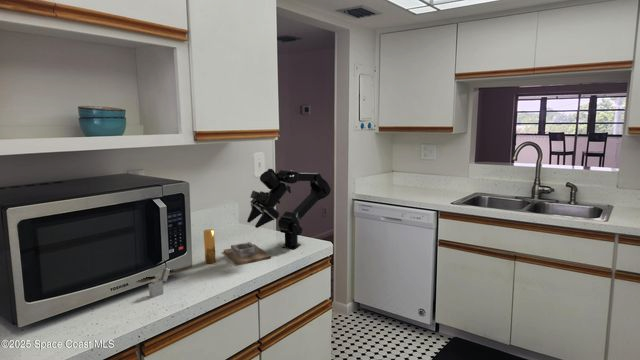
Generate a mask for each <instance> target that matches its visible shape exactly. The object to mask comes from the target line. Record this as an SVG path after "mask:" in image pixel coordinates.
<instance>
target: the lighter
mask: <svg viewBox="0 0 640 360" xmlns="http://www.w3.org/2000/svg"><path fill="white" fill-rule="evenodd" d="M170 272H171V271H170V269H168V268H164V269H163V272H162V275H161V276H160V277H159V278H155V279H153V280H152V281H151V283H149V284H148V292H149V293H148V294H149V298H151V299H153V298H156V297H159V296H160V295H164V283H163V282H167V280H168V277H169V274H170Z"/></svg>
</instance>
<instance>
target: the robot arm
mask: <svg viewBox="0 0 640 360" xmlns="http://www.w3.org/2000/svg"><path fill="white" fill-rule="evenodd" d="M259 180H260V182H261V183H262V185H264V186H265V187H266V188H267V189H269V191H266V192H265V191H262V190H261V191H259V192H258V191H256V190H252V192H251V194H250V197H249V198H251V199H252V200H250V201H249V202H250V207H251V211H250V212H249V215H248V217H247V221H246V222H247V223H249V224H250V223H251V222H253V221H254V220H255V219H257V218H258V217H259V216H260V217H259V218H258V220H257V222H256V224H255V225H254V227H255V228H256V229H258V228H260V227H262V226H264V225H266V224H268V223H270V222H272V221H275V220H278V221H277V223H278V228H279V230H280V233H282V234H284V244H283V245H281V248H283V249H291V250H296V249H297V248H299V247H300V246H302V244H301V243H299V240H298V239H299V236H300V235H301V234H302V233H303V228H302V226H300V223H301V219H303V217H304V216H305V215H307V213H308V212H309V211H310V210H311V209H312V207H314V206H315V205H316V203H317V202H319V201H321V200H324V199H326V198H327V197H328V196H329V195H330V194H331V190H332V189H331V187H330V184H329V183H328V182H327V180H326V179H324V178H323V177H322V175H321V174H320V173H318V172H315V171H314V172H312V171H311V172H298V171H295V170H290V169H283V168H282V169H280V170H278V172H275V170H274V169H272V168H268V169H267V170H265V171H263V173H261V175H260V176H259ZM298 182H309V186H310V191H309V195H307V196H306V197H305V198H304V199H303V200H302V202H301V203H299V204H298V205H297V206H296V208H295V209H294V210H292V211H285V212H284V213H283V214H282V215H280V212H279V211H278V209H277V210H276V208H275V207H276V206H277V205H278V204H281V200H282V198H283V197H284V196H285V194H286V193H288V194H291V193H292V192H291V191H292V190H291V186H289V185H292V184H296V183H298ZM286 184H289V185H286ZM279 217H280V218H279Z"/></svg>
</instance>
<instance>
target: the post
mask: <svg viewBox="0 0 640 360" xmlns="http://www.w3.org/2000/svg"><path fill="white" fill-rule="evenodd" d="M215 239H216V238H215V230H214V229H211V228H209V229H204V230H203V242H204V260H205V261H204V263H205V264H207V265H211V264H212V265H213V264H215V263H216V260H217V259H216V244H215V243H216V242H215V241H216V240H215Z"/></svg>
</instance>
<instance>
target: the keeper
mask: <svg viewBox="0 0 640 360" xmlns="http://www.w3.org/2000/svg"><path fill="white" fill-rule="evenodd" d="M223 253H224V254H225V255H226V256H227V257H228V258H230V260H232V261H233V262H234V264H236V265H237V266H241V265H245V264H251V263H255V262H260V261H265V260H270V259H271V258H272V257H271V255H270V254H269V253H268V252H266V251H264V250H263V249H262V248H260V247H259V246H257V245H256V244H253V243H252V242H251V241H248V242H243V243H242V242H241V243H238V244H237V243H236V244H231V245H230V248H227V249H223Z"/></svg>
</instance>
